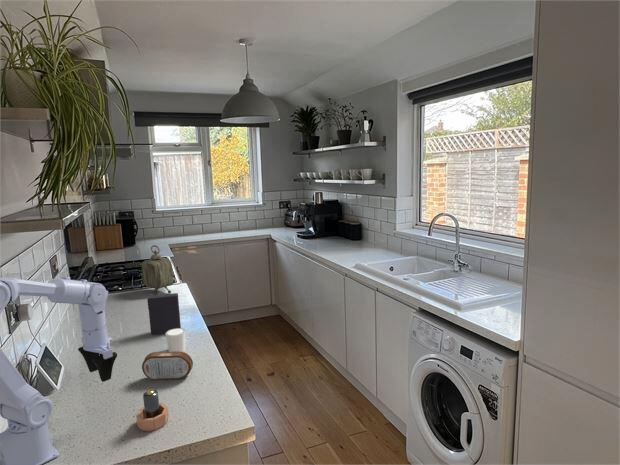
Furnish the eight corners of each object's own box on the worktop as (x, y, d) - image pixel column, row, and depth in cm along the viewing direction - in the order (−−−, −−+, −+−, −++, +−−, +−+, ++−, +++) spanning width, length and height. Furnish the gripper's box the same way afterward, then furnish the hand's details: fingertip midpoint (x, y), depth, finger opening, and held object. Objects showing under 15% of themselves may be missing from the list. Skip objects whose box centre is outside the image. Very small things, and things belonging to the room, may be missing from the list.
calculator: (181, 327, 164) (178, 292, 162) (180, 332, 160) (177, 295, 158) (152, 331, 162) (148, 295, 159) (150, 335, 158) (147, 298, 155)
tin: (194, 374, 128) (192, 349, 127) (191, 379, 125) (189, 354, 124) (145, 376, 128) (143, 351, 126) (142, 382, 125) (139, 356, 123)
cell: (149, 426, 102) (146, 397, 101) (143, 420, 105) (140, 391, 103) (162, 419, 105) (160, 391, 103) (156, 414, 107) (153, 386, 106)
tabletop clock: (174, 293, 209) (170, 245, 204) (159, 298, 202) (154, 248, 197) (158, 288, 217) (154, 242, 213) (142, 293, 210) (137, 245, 206)
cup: (146, 435, 100) (145, 424, 99) (133, 423, 105) (132, 412, 104) (173, 420, 105) (172, 410, 105) (159, 410, 110) (158, 400, 109)
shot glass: (187, 344, 149) (186, 326, 148) (186, 353, 142) (184, 334, 141) (168, 347, 148) (166, 328, 146) (165, 355, 141) (164, 336, 140)
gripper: (122, 329, 104) (127, 378, 107) (98, 316, 114) (104, 361, 116) (93, 338, 99) (99, 389, 101) (71, 323, 109) (77, 371, 111)
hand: (100, 375), depth 108 cm, fingers open, 7 cm apart
